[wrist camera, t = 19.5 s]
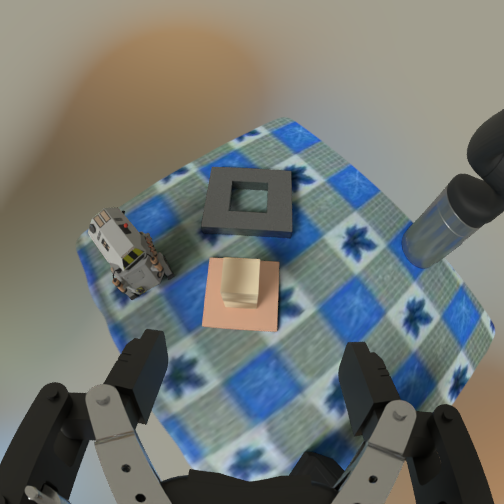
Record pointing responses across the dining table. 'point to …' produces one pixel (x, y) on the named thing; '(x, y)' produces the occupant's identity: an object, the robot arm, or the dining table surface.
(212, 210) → the socket block
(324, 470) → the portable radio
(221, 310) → the terracotta tile
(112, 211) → the figurine
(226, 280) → the beech peg
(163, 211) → the dining table surface
